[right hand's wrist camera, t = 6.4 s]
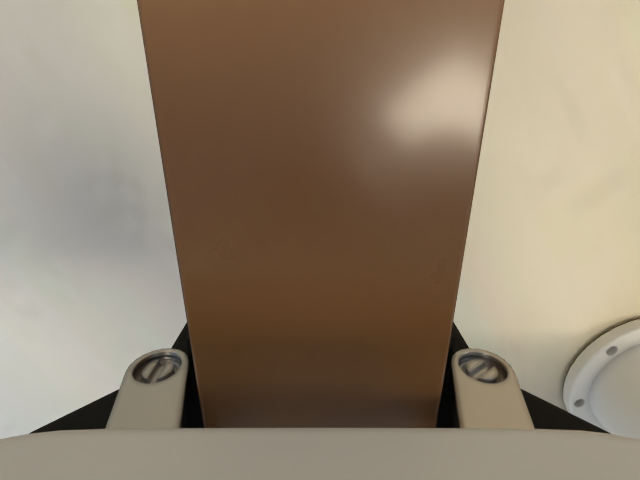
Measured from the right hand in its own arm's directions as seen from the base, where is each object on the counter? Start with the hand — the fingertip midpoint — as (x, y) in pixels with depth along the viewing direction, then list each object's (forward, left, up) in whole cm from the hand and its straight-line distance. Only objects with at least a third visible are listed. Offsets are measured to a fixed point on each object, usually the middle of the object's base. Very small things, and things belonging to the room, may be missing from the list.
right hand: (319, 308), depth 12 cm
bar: (-7, -22, -3) cm, 24 cm away
